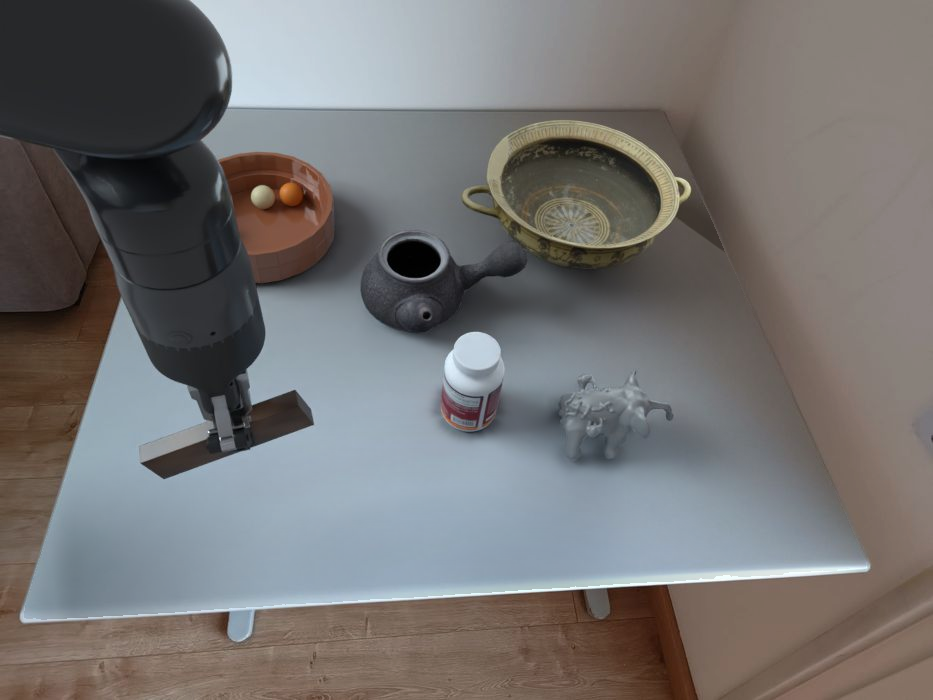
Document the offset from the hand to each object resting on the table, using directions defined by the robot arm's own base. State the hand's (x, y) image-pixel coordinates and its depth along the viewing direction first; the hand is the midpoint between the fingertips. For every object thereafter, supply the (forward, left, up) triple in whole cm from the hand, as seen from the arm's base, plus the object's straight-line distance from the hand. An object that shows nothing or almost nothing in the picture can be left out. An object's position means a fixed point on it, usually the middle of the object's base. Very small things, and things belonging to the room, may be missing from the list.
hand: (239, 435), depth 58 cm
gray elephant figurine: (+37, 0, -15) cm, 40 cm away
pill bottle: (+23, +6, -15) cm, 28 cm away
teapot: (+24, +21, -15) cm, 35 cm away
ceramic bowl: (+44, +29, -15) cm, 55 cm away
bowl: (+5, +38, -15) cm, 41 cm away
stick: (0, 0, -1) cm, 1 cm away
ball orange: (+10, +43, -12) cm, 46 cm away
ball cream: (+4, +42, -14) cm, 45 cm away
